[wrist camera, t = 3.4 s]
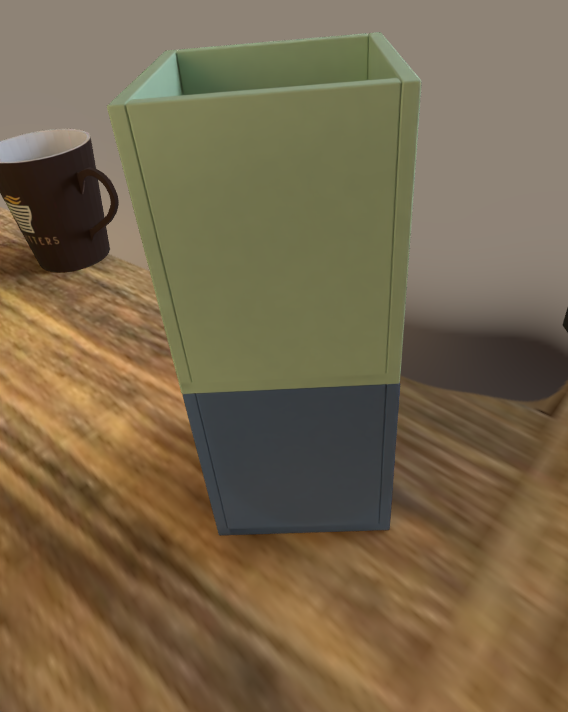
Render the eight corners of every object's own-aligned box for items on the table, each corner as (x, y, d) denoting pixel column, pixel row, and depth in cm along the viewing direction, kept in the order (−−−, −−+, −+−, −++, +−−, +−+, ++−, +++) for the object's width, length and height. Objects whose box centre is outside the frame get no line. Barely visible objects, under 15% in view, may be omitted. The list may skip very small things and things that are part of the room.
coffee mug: (18, 252, 52) (-27, 145, 46) (106, 226, 55) (75, 122, 49) (45, 304, 44) (-5, 182, 37) (146, 270, 47) (115, 153, 41)
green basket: (374, 273, 26) (381, 32, 20) (400, 384, 20) (422, 80, 13) (208, 283, 26) (164, 50, 20) (181, 394, 20) (105, 105, 14)
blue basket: (370, 409, 31) (374, 273, 26) (389, 530, 25) (400, 384, 20) (233, 416, 32) (208, 283, 26) (218, 535, 26) (181, 394, 20)
